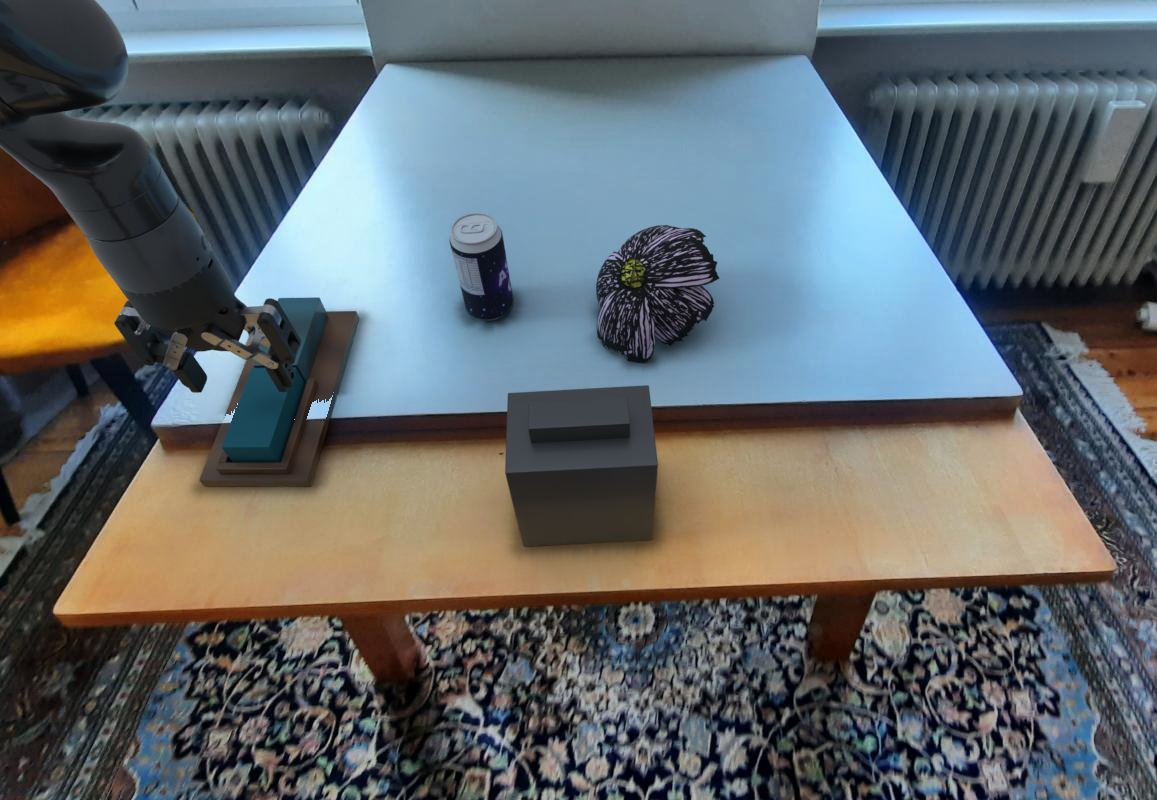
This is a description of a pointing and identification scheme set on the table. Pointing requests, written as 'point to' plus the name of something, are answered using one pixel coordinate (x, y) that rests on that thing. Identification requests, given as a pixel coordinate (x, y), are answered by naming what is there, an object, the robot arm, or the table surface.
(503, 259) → the beverage can
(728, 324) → the table surface
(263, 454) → the back pad
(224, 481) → the brown flat rectangular board
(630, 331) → the decorative flower
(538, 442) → the pad stand
